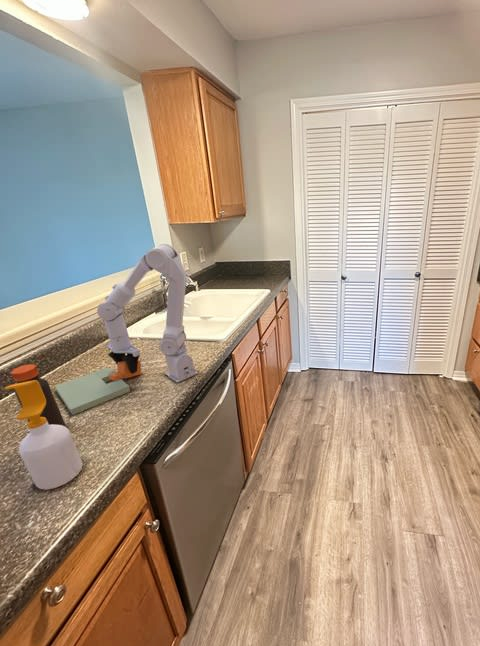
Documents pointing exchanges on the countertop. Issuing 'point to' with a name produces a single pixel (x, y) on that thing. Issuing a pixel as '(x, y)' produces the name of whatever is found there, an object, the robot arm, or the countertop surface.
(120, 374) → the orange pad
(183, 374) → the robot arm
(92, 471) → the countertop surface
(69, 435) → the soap bottle
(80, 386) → the grey tile
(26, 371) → the vinegar
